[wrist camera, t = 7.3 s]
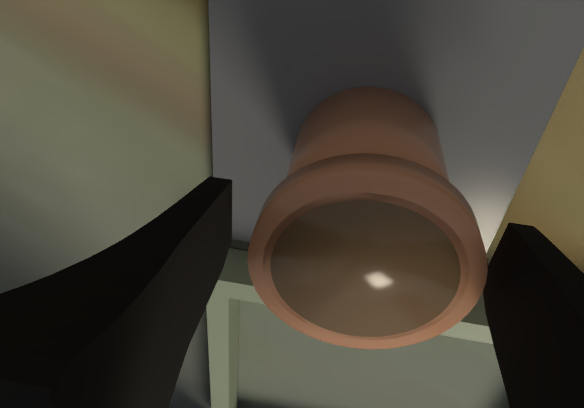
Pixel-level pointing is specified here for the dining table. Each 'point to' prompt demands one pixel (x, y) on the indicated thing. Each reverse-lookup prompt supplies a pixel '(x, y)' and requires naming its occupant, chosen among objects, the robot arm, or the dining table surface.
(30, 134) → the dining table surface
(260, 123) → the slate tile
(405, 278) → the seedling pot
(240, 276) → the pale green square frame
